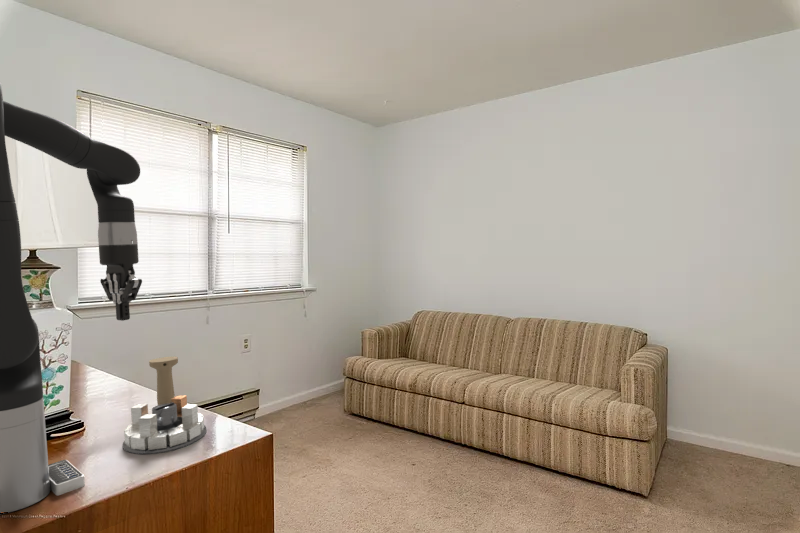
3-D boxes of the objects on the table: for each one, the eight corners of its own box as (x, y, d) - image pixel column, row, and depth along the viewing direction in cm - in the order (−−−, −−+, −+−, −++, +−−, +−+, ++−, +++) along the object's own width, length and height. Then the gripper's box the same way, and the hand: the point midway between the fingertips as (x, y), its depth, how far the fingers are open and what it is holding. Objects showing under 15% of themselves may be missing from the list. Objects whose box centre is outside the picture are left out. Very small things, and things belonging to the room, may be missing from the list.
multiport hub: (56, 497, 83) (56, 485, 83) (39, 479, 90) (38, 467, 90) (85, 487, 87) (84, 475, 86) (66, 470, 94) (65, 458, 93)
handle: (152, 417, 120) (148, 359, 119) (179, 412, 123) (176, 355, 122) (153, 423, 116) (149, 363, 115) (182, 418, 119) (178, 359, 118)
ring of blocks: (152, 460, 96) (150, 425, 95) (106, 444, 104) (104, 411, 104) (222, 430, 110) (220, 399, 110) (176, 418, 119) (175, 389, 118)
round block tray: (218, 423, 113) (216, 396, 112) (169, 452, 98) (167, 422, 97) (163, 418, 117) (161, 392, 117) (108, 446, 102) (106, 416, 101)
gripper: (152, 242, 106) (156, 319, 107) (118, 243, 112) (123, 315, 113) (117, 243, 99) (123, 324, 100) (84, 244, 106) (89, 320, 107)
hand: (123, 319), depth 107 cm, fingers closed
